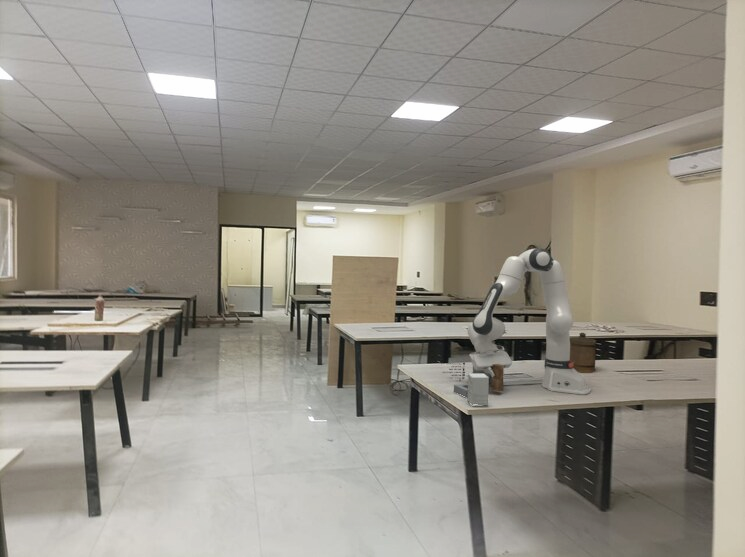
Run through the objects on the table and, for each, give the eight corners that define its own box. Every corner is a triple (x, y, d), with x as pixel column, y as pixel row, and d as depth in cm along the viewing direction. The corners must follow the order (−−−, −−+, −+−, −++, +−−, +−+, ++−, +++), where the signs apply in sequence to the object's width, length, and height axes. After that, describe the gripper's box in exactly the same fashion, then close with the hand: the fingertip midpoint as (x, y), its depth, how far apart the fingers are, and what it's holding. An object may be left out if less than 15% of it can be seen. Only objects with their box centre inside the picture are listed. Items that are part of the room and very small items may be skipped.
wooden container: (598, 370, 280) (600, 333, 279) (589, 374, 269) (591, 335, 268) (572, 366, 290) (574, 330, 289) (563, 369, 279) (564, 332, 279)
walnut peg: (498, 388, 226) (498, 363, 226) (503, 390, 223) (503, 365, 223) (491, 389, 225) (492, 364, 224) (496, 391, 222) (497, 365, 221)
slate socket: (471, 390, 229) (471, 383, 229) (484, 396, 220) (484, 388, 219) (453, 392, 225) (454, 384, 225) (465, 398, 216) (466, 390, 215)
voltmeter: (489, 380, 250) (490, 361, 250) (496, 386, 239) (497, 366, 238) (439, 379, 248) (439, 361, 248) (443, 385, 237) (444, 365, 237)
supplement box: (483, 401, 211) (484, 373, 211) (488, 406, 204) (489, 377, 203) (467, 401, 211) (467, 372, 210) (471, 406, 203) (472, 377, 203)
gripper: (471, 349, 226) (483, 374, 217) (506, 346, 234) (519, 370, 225) (465, 356, 230) (477, 381, 221) (500, 353, 238) (512, 377, 229)
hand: (498, 375), depth 223 cm, fingers closed on walnut peg, 4 cm apart
